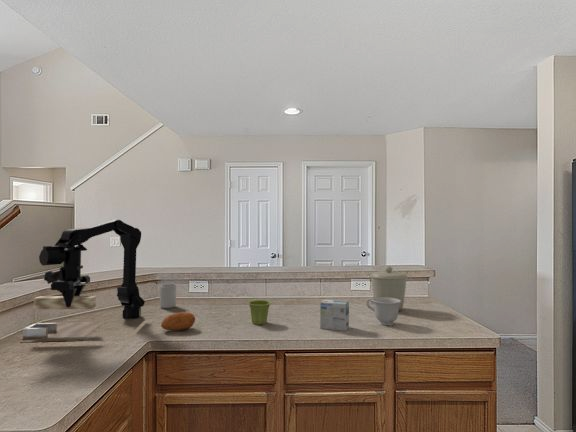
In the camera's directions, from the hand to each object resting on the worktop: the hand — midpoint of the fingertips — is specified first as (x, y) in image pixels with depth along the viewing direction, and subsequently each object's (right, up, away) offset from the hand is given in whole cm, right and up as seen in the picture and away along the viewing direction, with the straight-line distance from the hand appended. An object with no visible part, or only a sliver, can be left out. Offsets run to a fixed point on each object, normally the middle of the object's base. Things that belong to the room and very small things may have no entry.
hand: (71, 305), depth 143 cm
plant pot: (+68, -12, +20) cm, 72 cm away
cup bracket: (-10, -10, -3) cm, 14 cm away
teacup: (+120, -13, +21) cm, 123 cm away
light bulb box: (+99, -12, +13) cm, 101 cm away
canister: (+129, -13, +47) cm, 138 cm away
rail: (-2, -1, 0) cm, 2 cm away
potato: (+37, -12, +9) cm, 40 cm away
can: (+21, -12, +49) cm, 55 cm away
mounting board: (-4, -11, +4) cm, 13 cm away
